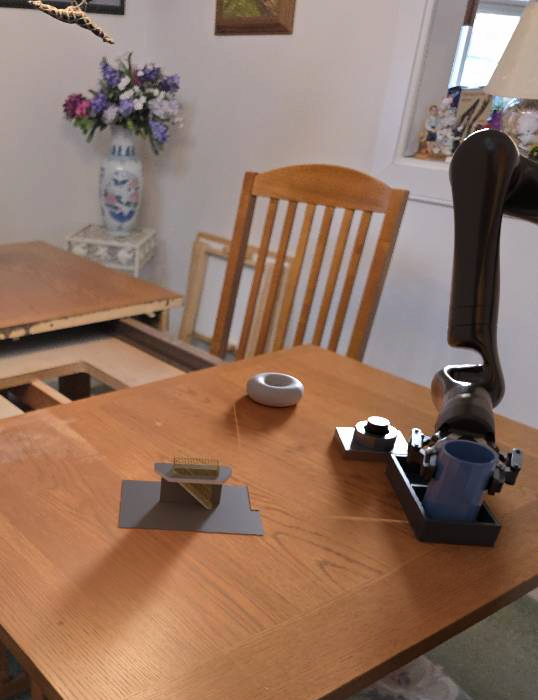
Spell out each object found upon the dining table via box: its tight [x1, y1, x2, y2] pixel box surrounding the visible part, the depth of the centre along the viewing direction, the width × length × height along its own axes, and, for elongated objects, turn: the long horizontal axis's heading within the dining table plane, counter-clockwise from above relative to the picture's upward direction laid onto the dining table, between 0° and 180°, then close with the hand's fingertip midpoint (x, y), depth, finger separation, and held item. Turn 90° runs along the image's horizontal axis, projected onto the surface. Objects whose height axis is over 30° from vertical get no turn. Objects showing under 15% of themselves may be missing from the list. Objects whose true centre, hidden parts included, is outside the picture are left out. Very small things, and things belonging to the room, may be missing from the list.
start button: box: [365, 416, 391, 435], centre depth 106 cm, size 3×3×2 cm
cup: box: [422, 439, 499, 522], centre depth 88 cm, size 7×7×9 cm
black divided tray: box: [384, 454, 503, 548], centre depth 94 cm, size 9×18×3 cm, turn 177°
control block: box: [333, 420, 408, 464], centre depth 107 cm, size 10×8×4 cm
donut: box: [245, 372, 305, 408], centre depth 122 cm, size 10×4×10 cm
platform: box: [118, 456, 265, 536], centre depth 90 cm, size 12×18×7 cm, turn 88°
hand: (461, 481), depth 85 cm, fingers closed on cup, 6 cm apart
